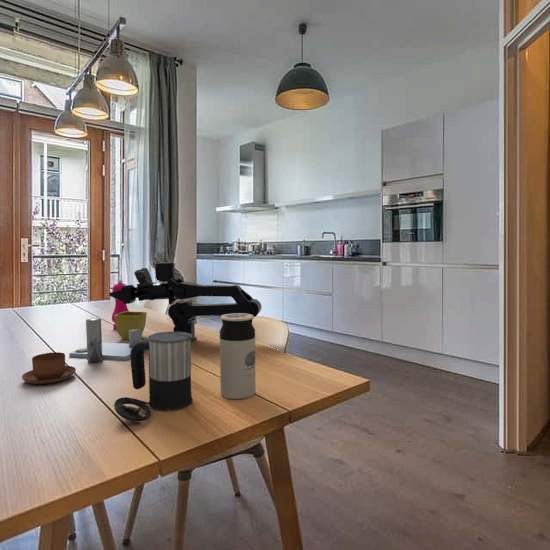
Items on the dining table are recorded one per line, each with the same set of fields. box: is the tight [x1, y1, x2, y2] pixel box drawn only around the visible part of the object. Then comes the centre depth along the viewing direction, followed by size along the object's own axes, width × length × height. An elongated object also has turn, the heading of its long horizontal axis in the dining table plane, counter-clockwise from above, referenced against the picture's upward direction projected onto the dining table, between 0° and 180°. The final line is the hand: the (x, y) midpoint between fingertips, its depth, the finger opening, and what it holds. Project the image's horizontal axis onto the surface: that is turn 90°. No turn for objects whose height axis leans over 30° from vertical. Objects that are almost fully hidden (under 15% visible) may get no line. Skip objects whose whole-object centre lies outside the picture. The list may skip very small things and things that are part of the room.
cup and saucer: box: [21, 351, 77, 385], centre depth 104 cm, size 12×12×6 cm
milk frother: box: [113, 331, 194, 423], centre depth 84 cm, size 14×16×15 cm
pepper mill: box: [111, 279, 130, 331], centre depth 166 cm, size 7×7×20 cm
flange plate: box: [68, 329, 147, 361], centre depth 129 cm, size 19×14×6 cm
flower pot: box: [114, 311, 148, 340], centre depth 150 cm, size 9×9×9 cm
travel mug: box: [219, 313, 257, 400], centre depth 93 cm, size 8×8×18 cm
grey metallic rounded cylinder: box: [85, 317, 104, 365], centre depth 119 cm, size 4×4×12 cm
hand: (116, 293), depth 148 cm, fingers open, 9 cm apart
